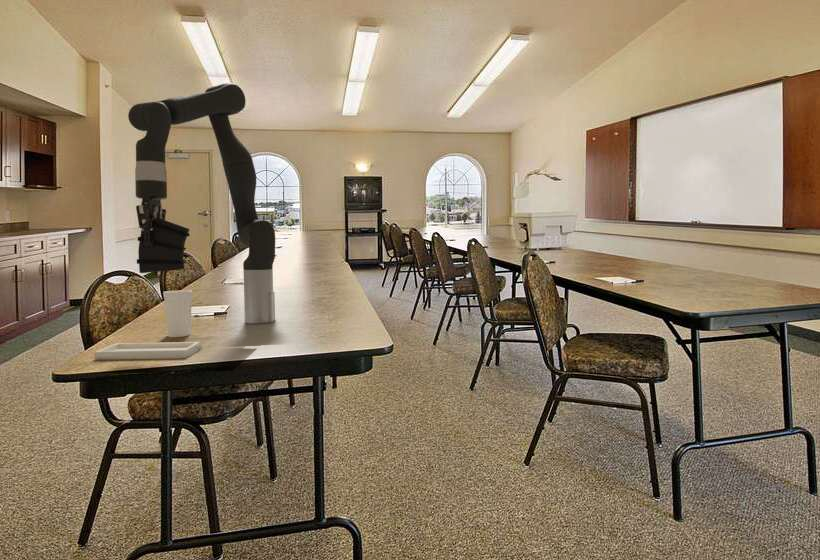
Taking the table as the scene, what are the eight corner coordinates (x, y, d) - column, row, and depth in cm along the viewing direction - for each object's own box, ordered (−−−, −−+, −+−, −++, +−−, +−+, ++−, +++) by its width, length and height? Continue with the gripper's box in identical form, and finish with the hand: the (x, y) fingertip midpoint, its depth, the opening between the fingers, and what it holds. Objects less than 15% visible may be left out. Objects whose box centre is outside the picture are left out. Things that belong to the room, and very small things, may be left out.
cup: (158, 340, 167) (156, 292, 166) (178, 336, 174) (176, 289, 174) (180, 342, 164) (178, 292, 163) (200, 337, 172) (198, 290, 171)
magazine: (130, 267, 152) (149, 214, 152) (179, 284, 154) (198, 232, 154) (125, 268, 148) (144, 213, 148) (175, 285, 150) (194, 231, 150)
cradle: (201, 349, 154) (200, 341, 153) (186, 358, 142) (186, 350, 141) (116, 350, 152) (116, 343, 152) (94, 359, 140) (94, 351, 140)
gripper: (154, 177, 143) (156, 245, 144) (175, 183, 157) (176, 246, 158) (124, 176, 142) (125, 245, 143) (147, 183, 157) (149, 245, 158)
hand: (152, 245), depth 151 cm, fingers closed on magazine, 4 cm apart
